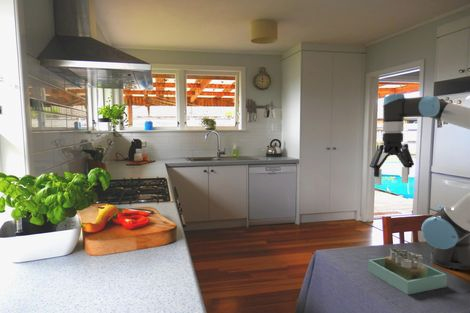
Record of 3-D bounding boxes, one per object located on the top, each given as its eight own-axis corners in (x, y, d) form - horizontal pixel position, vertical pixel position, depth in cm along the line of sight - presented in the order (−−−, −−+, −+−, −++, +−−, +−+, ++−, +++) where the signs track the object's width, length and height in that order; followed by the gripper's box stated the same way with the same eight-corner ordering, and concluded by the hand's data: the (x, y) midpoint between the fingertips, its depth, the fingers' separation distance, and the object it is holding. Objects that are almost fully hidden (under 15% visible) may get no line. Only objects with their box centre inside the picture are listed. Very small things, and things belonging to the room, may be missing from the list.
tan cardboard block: (399, 269, 121) (400, 254, 120) (426, 284, 109) (427, 267, 109) (384, 272, 119) (384, 256, 118) (410, 287, 107) (411, 270, 107)
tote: (402, 266, 125) (403, 254, 125) (446, 288, 107) (446, 274, 107) (367, 272, 120) (367, 259, 120) (407, 296, 103) (407, 282, 102)
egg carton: (424, 268, 108) (425, 256, 108) (403, 269, 108) (403, 257, 108) (406, 256, 119) (407, 245, 118) (387, 256, 118) (387, 245, 118)
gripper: (409, 131, 137) (408, 180, 139) (361, 132, 130) (360, 184, 131) (424, 131, 130) (423, 183, 131) (374, 132, 123) (373, 187, 124)
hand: (391, 183), depth 131 cm, fingers open, 13 cm apart
